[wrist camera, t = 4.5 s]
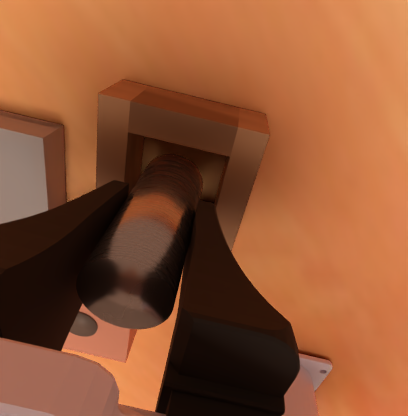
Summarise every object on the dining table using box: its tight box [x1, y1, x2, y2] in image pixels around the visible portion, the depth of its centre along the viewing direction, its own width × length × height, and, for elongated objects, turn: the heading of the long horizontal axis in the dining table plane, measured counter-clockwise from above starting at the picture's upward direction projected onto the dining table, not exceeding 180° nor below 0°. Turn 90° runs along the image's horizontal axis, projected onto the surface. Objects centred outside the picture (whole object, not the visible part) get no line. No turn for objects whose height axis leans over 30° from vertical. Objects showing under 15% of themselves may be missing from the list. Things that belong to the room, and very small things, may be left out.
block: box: [63, 304, 137, 363], centre depth 18 cm, size 5×5×6 cm
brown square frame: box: [96, 80, 270, 251], centre depth 16 cm, size 7×7×3 cm
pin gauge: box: [76, 154, 203, 329], centre depth 12 cm, size 3×3×7 cm
